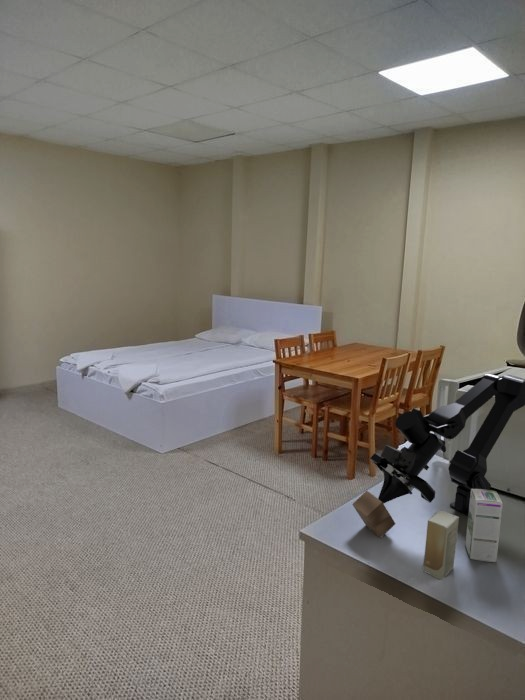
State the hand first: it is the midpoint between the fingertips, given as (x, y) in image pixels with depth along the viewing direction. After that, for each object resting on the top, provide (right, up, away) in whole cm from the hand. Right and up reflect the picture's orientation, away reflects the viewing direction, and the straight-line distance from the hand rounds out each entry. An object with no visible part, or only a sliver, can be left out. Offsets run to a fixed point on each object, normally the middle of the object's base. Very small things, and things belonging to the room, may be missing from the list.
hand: (379, 502), depth 118 cm
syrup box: (+21, -10, -7) cm, 24 cm away
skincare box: (+10, -10, -13) cm, 19 cm away
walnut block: (+1, -6, +2) cm, 6 cm away
